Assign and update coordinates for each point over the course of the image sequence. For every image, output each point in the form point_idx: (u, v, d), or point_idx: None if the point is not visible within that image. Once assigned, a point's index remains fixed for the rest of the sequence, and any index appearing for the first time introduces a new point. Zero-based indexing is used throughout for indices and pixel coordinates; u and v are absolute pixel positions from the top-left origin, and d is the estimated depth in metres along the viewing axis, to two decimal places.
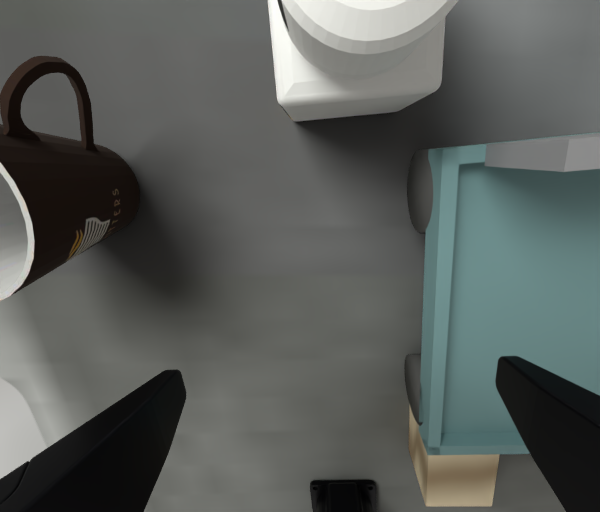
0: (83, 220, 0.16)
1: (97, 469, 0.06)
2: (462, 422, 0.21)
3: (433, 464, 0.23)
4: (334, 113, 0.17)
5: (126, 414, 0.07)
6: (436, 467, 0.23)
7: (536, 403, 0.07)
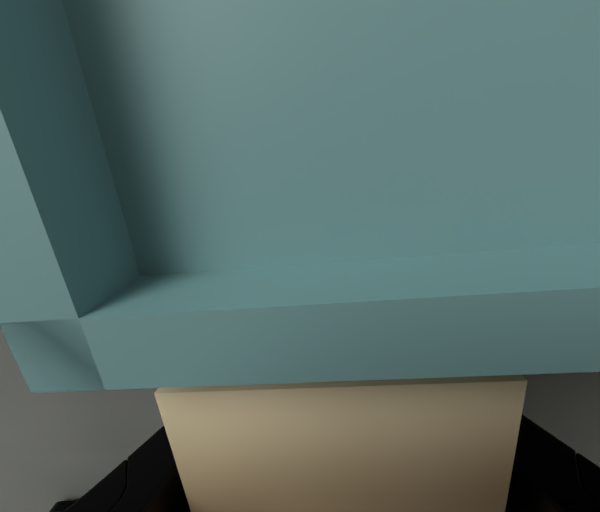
0: None
1: None
2: (281, 181, 0.03)
3: (201, 466, 0.05)
4: None
5: None
6: (219, 483, 0.05)
7: None
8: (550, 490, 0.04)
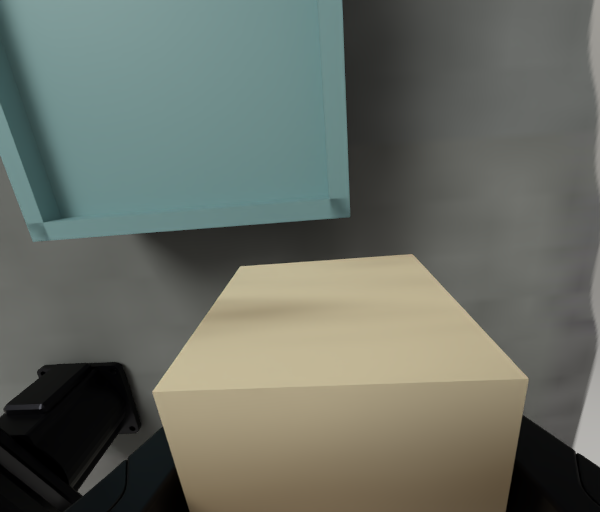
0: None
1: None
2: (92, 194, 0.14)
3: (200, 465, 0.05)
4: None
5: None
6: (218, 481, 0.05)
7: None
8: (550, 490, 0.04)
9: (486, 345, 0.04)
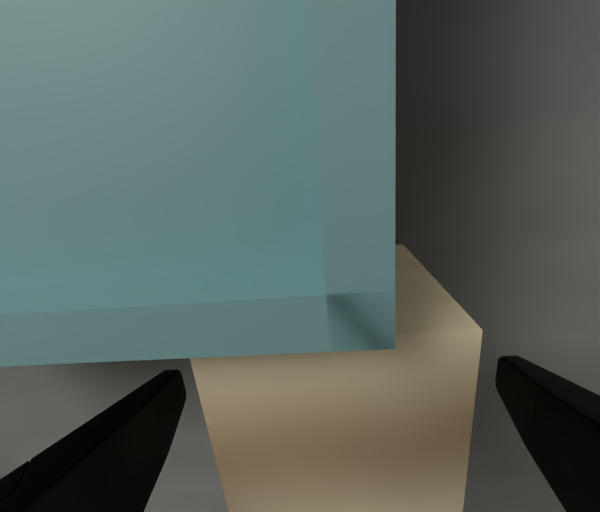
0: None
1: (97, 469, 0.06)
2: None
3: (222, 407, 0.06)
4: None
5: (126, 414, 0.07)
6: (236, 421, 0.06)
7: (536, 403, 0.07)
8: None
9: (454, 309, 0.06)
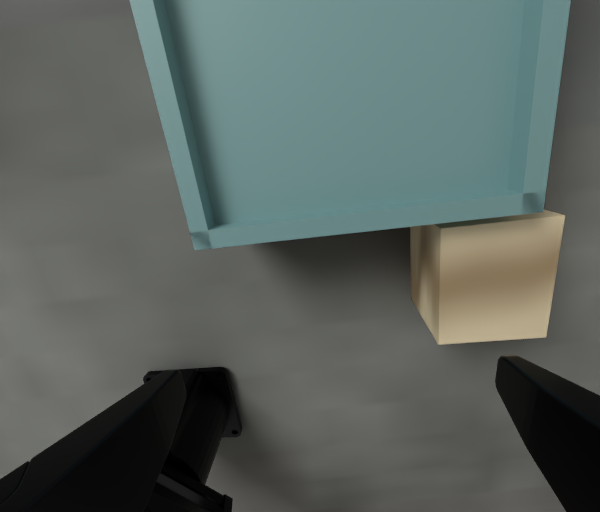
0: None
1: (97, 469, 0.06)
2: (251, 199, 0.13)
3: (449, 258, 0.14)
4: None
5: (126, 414, 0.07)
6: (454, 265, 0.14)
7: (536, 403, 0.07)
8: None
9: (549, 212, 0.13)
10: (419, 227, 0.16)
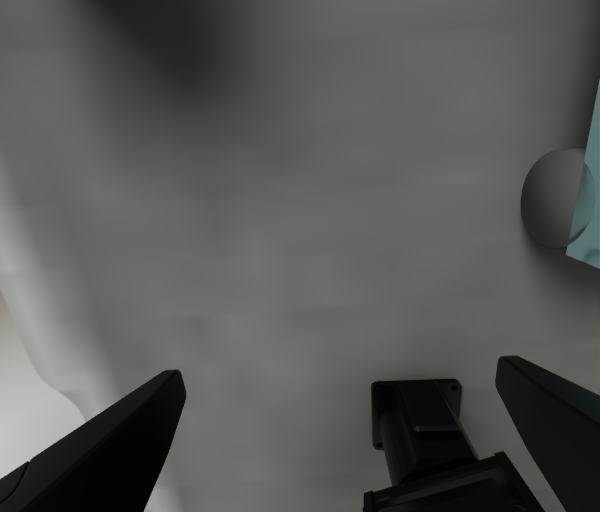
0: None
1: (97, 469, 0.06)
2: None
3: None
4: None
5: (126, 414, 0.07)
6: None
7: (536, 403, 0.07)
8: None
9: None
10: None
